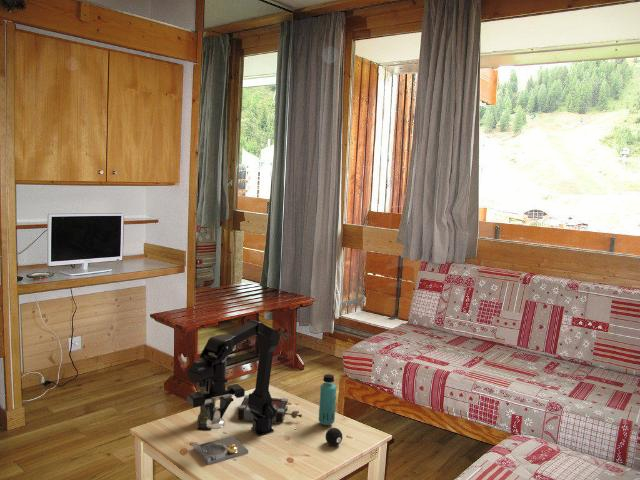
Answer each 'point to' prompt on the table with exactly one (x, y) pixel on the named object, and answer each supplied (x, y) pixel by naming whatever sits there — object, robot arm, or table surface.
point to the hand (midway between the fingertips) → (215, 419)
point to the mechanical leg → (204, 411)
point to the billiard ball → (333, 436)
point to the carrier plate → (220, 450)
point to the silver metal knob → (216, 419)
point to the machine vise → (276, 403)
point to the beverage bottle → (327, 400)
